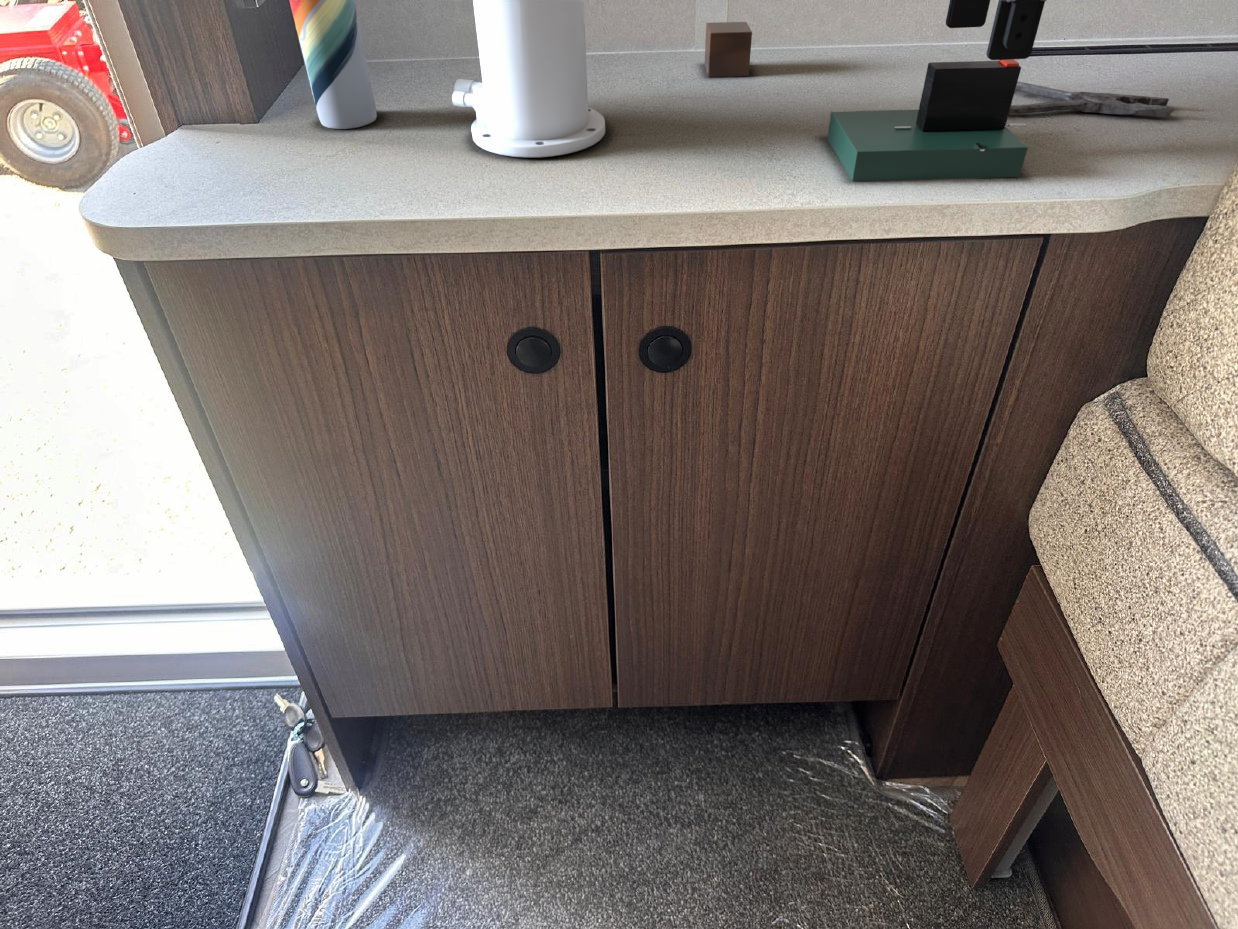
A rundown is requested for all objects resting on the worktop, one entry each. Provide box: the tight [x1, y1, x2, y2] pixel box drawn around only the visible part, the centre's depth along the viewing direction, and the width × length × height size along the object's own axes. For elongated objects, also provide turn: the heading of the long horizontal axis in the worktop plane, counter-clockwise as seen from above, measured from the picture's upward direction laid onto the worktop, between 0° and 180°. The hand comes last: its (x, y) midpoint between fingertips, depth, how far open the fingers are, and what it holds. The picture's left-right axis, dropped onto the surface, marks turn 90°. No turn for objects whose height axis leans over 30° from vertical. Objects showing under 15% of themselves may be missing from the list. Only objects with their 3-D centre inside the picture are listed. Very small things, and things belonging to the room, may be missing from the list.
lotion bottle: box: [289, 0, 378, 130], centre depth 77 cm, size 6×6×20 cm
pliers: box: [1008, 80, 1174, 118], centre depth 84 cm, size 10×1×20 cm
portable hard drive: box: [916, 59, 1022, 132], centre depth 70 cm, size 7×2×5 cm, turn 91°
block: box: [703, 21, 753, 78], centre depth 93 cm, size 4×4×4 cm
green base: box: [826, 109, 1029, 182], centre depth 72 cm, size 16×11×3 cm
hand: (984, 41), depth 67 cm, fingers open, 9 cm apart
